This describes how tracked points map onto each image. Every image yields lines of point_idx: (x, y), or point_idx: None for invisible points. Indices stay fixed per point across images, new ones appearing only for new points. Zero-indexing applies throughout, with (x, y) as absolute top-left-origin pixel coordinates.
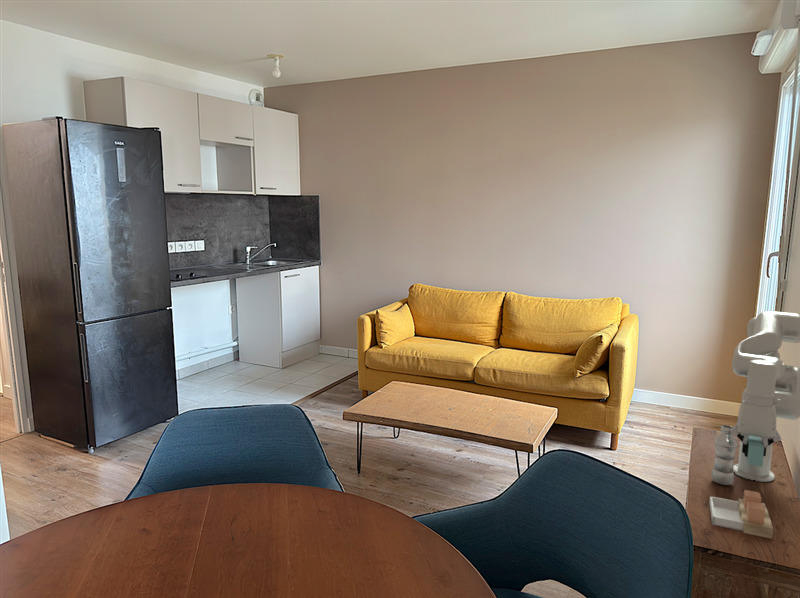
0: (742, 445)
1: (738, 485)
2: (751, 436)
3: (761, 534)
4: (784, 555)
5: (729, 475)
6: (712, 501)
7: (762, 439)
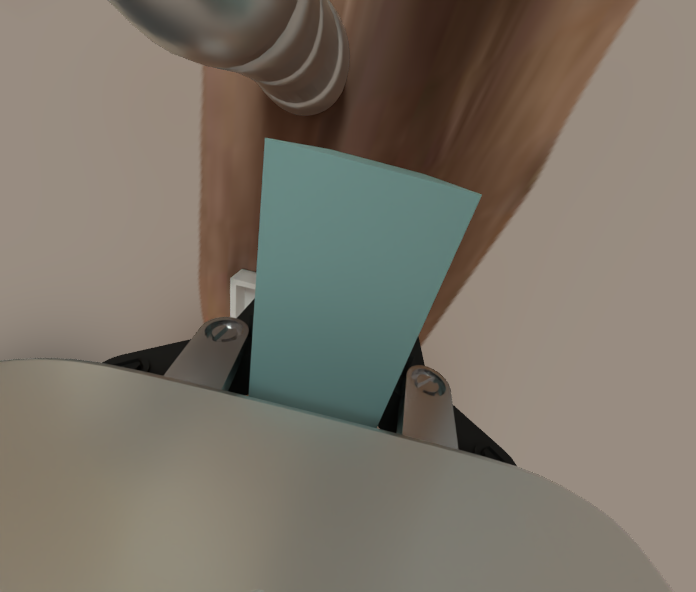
0: (243, 312)
1: (375, 72)
2: (310, 303)
3: None
4: None
5: (313, 105)
6: (234, 310)
7: (398, 424)
